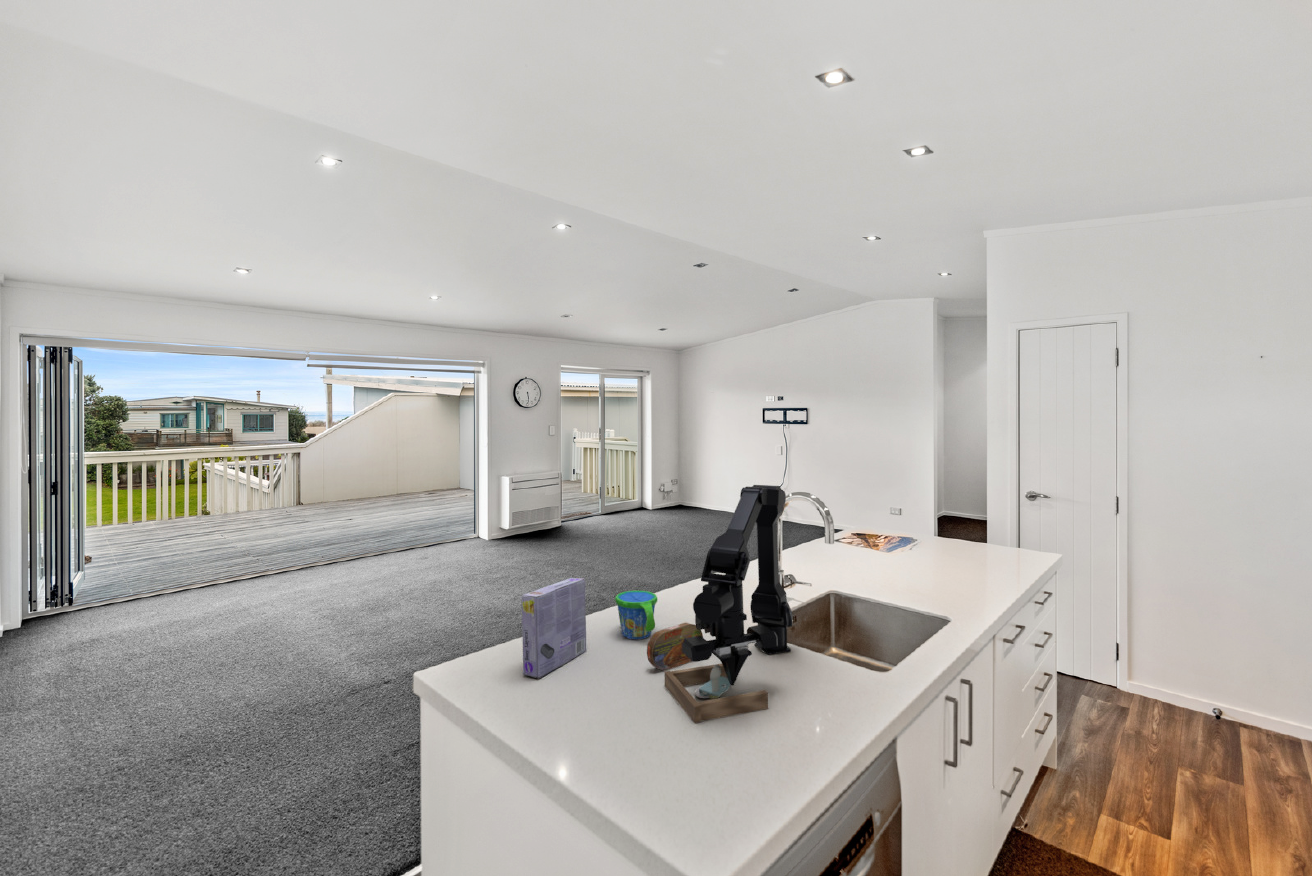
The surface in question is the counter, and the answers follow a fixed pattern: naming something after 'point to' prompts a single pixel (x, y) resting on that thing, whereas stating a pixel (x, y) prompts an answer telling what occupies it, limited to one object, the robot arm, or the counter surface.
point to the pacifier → (713, 685)
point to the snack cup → (636, 613)
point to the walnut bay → (715, 706)
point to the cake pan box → (553, 626)
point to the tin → (670, 646)
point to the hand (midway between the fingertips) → (731, 684)
